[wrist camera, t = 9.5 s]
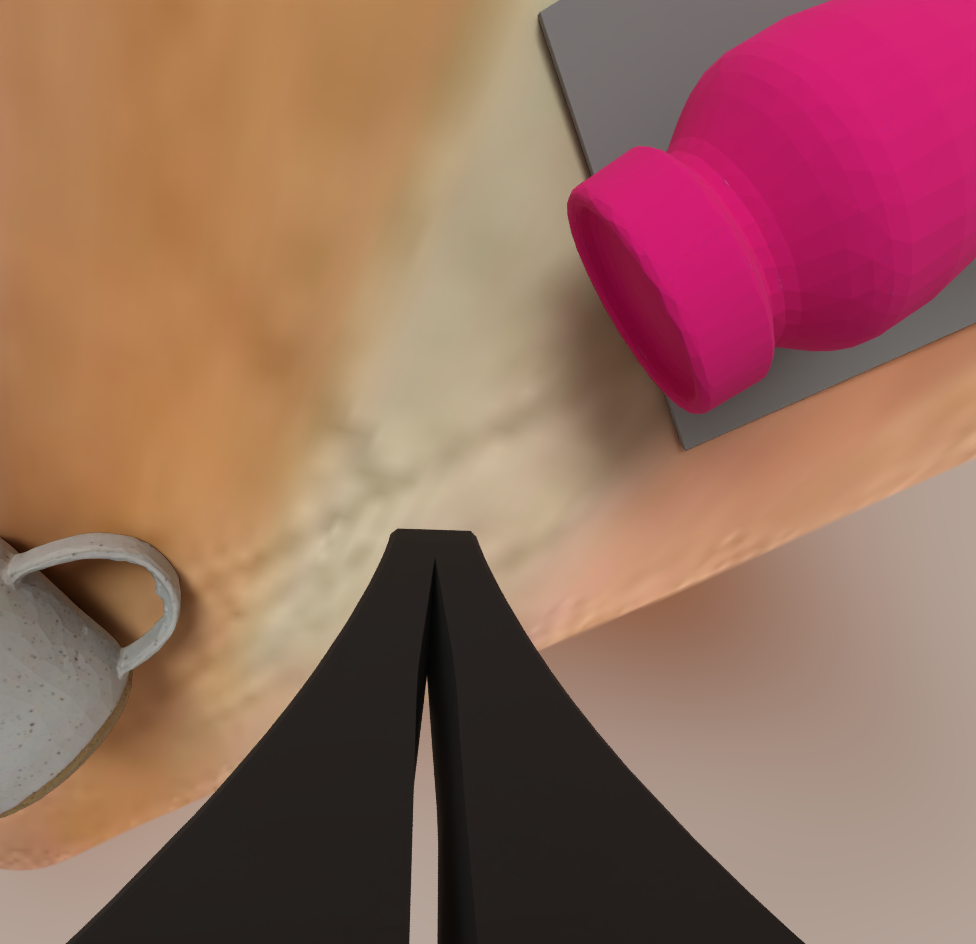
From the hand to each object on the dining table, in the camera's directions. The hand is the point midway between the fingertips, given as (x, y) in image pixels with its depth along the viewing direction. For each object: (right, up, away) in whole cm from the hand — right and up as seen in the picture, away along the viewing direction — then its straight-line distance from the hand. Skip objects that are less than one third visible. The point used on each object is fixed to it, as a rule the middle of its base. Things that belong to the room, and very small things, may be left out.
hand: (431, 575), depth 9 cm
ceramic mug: (-16, -3, +13) cm, 21 cm away
